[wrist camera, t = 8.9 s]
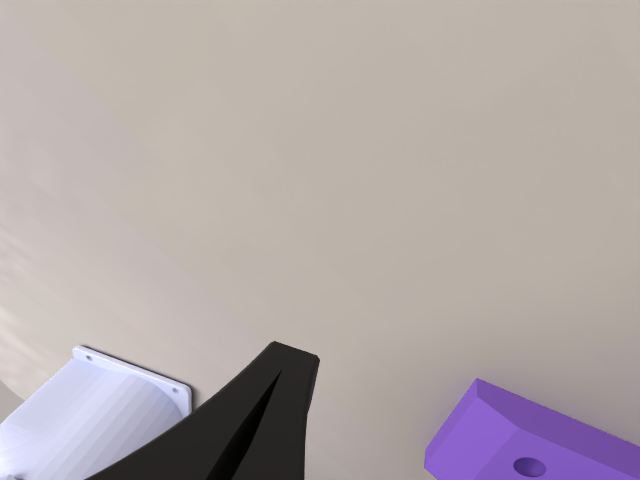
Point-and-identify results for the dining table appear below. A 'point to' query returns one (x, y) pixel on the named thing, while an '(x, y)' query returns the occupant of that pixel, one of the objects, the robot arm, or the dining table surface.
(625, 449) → the purple holed block
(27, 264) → the dining table surface
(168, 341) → the dining table surface
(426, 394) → the dining table surface
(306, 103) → the dining table surface
